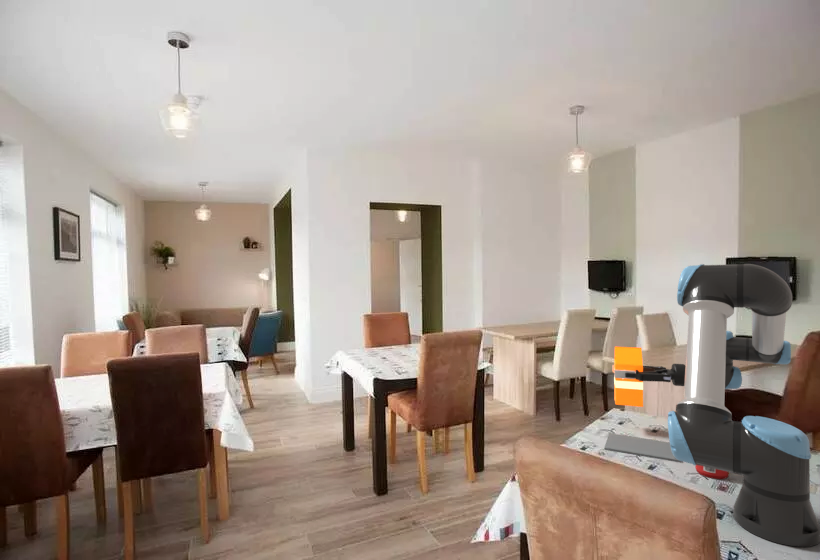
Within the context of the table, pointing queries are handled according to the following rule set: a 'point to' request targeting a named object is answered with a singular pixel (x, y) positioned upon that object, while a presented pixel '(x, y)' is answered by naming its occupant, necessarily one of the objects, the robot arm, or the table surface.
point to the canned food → (711, 472)
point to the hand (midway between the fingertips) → (613, 371)
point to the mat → (640, 447)
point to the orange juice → (628, 389)
